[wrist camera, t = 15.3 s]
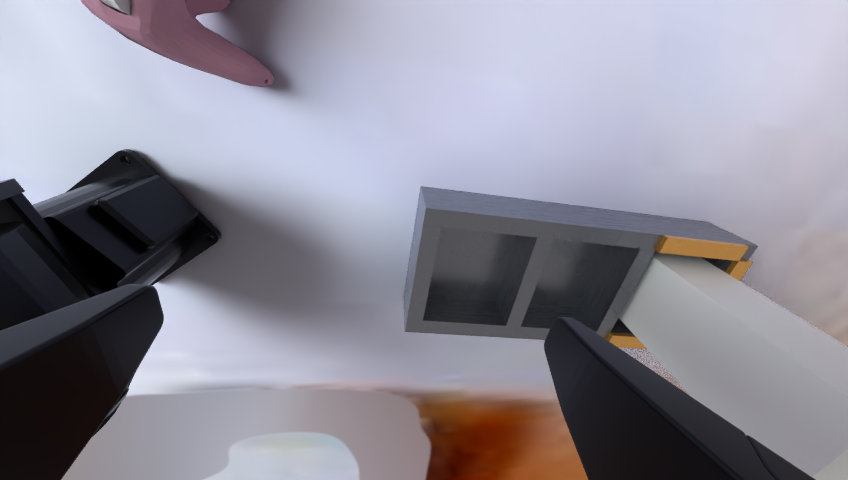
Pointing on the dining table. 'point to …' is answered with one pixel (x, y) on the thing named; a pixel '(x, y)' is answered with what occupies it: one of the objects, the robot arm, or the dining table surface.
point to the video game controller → (182, 36)
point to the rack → (541, 264)
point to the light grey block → (746, 360)
